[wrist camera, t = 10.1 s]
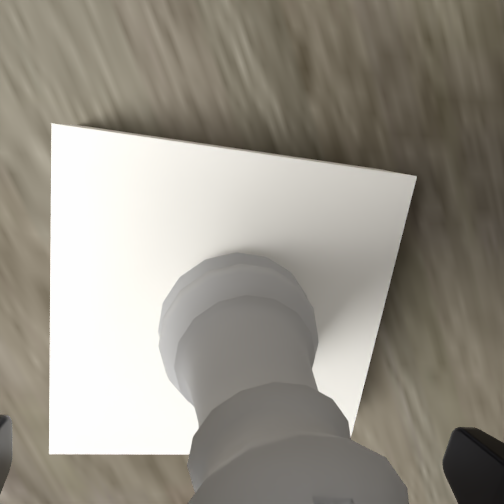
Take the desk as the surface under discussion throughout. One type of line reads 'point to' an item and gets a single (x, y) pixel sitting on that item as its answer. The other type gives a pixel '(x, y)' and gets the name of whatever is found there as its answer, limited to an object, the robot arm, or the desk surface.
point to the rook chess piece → (261, 392)
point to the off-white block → (190, 255)
